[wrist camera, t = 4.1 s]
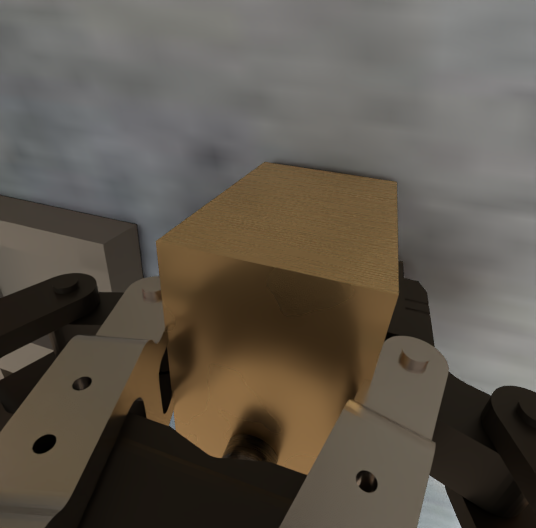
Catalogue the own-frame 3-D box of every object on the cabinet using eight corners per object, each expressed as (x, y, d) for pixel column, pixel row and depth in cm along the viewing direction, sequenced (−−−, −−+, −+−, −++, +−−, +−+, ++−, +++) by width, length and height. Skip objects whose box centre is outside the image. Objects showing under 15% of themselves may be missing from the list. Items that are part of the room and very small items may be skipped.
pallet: (-45, 185, 17) (-93, 198, 15) (136, 224, 15) (103, 244, 13) (41, 410, 25) (16, 435, 23) (165, 457, 23) (147, 488, 21)
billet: (264, 161, 11) (126, 262, 5) (397, 182, 10) (399, 328, 4) (254, 313, 14) (160, 479, 8) (356, 339, 13) (326, 544, 7)
